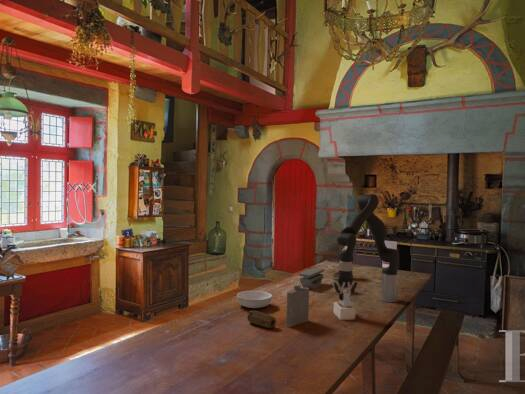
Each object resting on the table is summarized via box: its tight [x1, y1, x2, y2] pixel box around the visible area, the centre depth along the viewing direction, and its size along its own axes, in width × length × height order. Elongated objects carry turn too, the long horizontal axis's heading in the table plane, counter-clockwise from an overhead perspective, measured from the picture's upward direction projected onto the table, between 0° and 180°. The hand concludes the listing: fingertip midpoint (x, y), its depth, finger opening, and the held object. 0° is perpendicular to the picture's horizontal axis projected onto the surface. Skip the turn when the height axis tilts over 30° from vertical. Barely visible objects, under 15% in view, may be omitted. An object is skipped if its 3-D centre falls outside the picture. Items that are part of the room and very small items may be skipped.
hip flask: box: [285, 284, 310, 328], centre depth 207 cm, size 16×4×20 cm, turn 134°
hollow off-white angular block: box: [332, 301, 357, 321], centre depth 221 cm, size 8×12×6 cm
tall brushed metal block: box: [338, 289, 351, 308], centre depth 220 cm, size 4×7×10 cm, turn 7°
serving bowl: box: [236, 290, 273, 309], centre depth 234 cm, size 21×21×7 cm
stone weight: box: [246, 309, 277, 329], centre depth 202 cm, size 15×7×7 cm, turn 58°
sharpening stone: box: [298, 267, 325, 290], centre depth 284 cm, size 25×8×11 cm, turn 149°
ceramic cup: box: [331, 274, 345, 293], centre depth 272 cm, size 13×10×10 cm
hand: (344, 299), depth 220 cm, fingers closed on tall brushed metal block, 3 cm apart
